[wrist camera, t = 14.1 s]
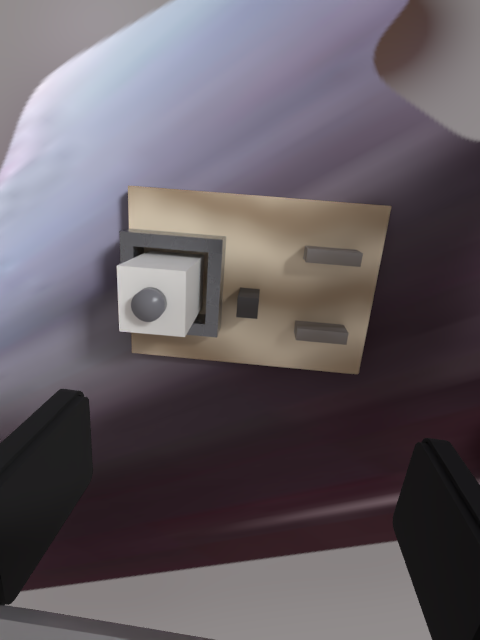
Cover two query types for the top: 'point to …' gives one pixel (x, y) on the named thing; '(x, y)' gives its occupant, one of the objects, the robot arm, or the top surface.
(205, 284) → the board
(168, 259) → the plug
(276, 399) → the top surface
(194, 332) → the frame
